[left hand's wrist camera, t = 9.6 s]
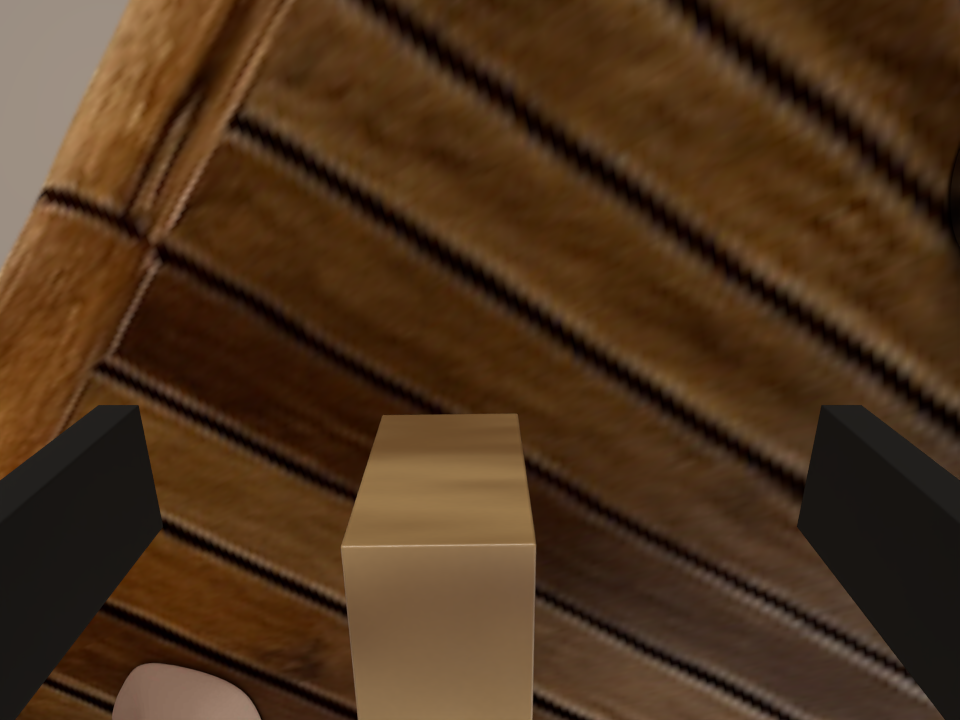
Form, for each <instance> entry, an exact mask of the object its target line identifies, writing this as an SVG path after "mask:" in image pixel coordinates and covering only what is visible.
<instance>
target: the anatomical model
mask: <svg viewBox="0 0 960 720" xmlns="http://www.w3.org/2000/svg"><path fill="white" fill-rule="evenodd" d="M112 720H261V718H260V716H259V714H258V712H257V710H256V708H255V706H254V704H253V703H252V701H251V700H250V699H249V697H248V696H247V695H246V694H245V693H244V692H243V691H242V690H240V689H239V688H237V687H236V686H235V685H233V684H231V683H229V682H227V681H225V680H223V679H220V678H218V677H216V676H213V675H210V674H207V673H204V672H200V671H196V670H193V669H189V668H184V667H180V666H175V665H168V664H161V663H148V664H143V665H140V666H138V667H137V668H135V669H134V670H133V671H132V672H131V673H130V675H129V676H128V677H127V679H126V681H125V682H124V684H123V686H122V688H121V690H120V692H119V694H118V696H117V698H116V702H115V705H114V710H113V715H112Z"/></svg>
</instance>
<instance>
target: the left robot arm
mask: <svg viewBox="0 0 960 720" xmlns="http://www.w3.org/2000/svg"><path fill="white" fill-rule="evenodd" d="M950 209H951V219H952V226H953V230H954V233H955V237H956V240H957V242H958V245H959V247H960V150H959V153H958V156H957V159H956V163H955V167H954V171H953V176H952V183H951V194H950ZM162 527H163V524H162V519H161V514H160V509H159V505H158V500H157V495H156V490H155V485H154V480H153V475H152V470H151V465H150V460H149V455H148V450H147V445H146V440H145V435H144V430H143V425H142V420H141V415H140V411H139V406H138V405H98V406H97V407H96V408H94V409H93V410H92V411H90V412H89V413H88V414H87V415H85V416H84V417H83V418H81V419H80V420H79V421H77V422H76V423H75V424H73V425H72V426H71V427H70V428H68V429H67V430H66V431H64V432H63V433H62V434H60V435H59V436H58V437H56V438H55V439H54V440H53V441H51V442H50V443H49V444H47V445H46V446H45V447H43V448H42V449H41V450H39V451H38V452H37V453H36V454H34V455H33V456H32V457H30V458H29V459H28V460H26V461H25V462H24V463H22V464H21V465H20V466H19V467H17V468H16V469H15V470H13V471H12V472H11V473H9V474H8V475H7V476H6V477H4V478H3V479H2V480H0V720H15V719H16V718H17V716H18V715H19V714H20V712H21V711H22V710H23V708H24V707H25V706H26V705H27V703H28V702H29V701H30V699H31V698H32V697H33V695H34V694H35V693H36V692H37V690H38V689H39V688H40V686H41V685H42V684H43V682H44V681H45V680H46V678H47V677H48V676H49V675H50V673H51V672H52V671H53V669H54V668H55V667H56V665H57V664H58V663H59V662H60V660H61V659H62V658H63V656H64V655H65V654H66V652H67V651H68V650H69V649H70V647H71V646H72V645H73V643H74V642H75V641H76V639H77V638H78V637H79V635H80V634H81V633H82V632H83V630H84V629H85V628H86V626H87V625H88V624H89V622H90V621H91V620H92V619H93V617H94V616H95V615H96V613H97V612H98V611H99V609H100V608H101V607H102V605H103V604H104V603H105V602H106V600H107V599H108V598H109V596H110V595H111V594H112V592H113V591H114V590H115V589H116V587H117V586H118V585H119V583H120V582H121V581H122V579H123V578H124V577H125V575H126V574H127V573H128V572H129V570H130V569H131V568H132V566H133V565H134V564H135V562H136V561H137V560H138V559H139V557H140V556H141V555H142V553H143V552H144V551H145V549H146V548H147V547H148V546H149V544H150V543H151V542H152V540H153V539H154V538H155V536H156V535H157V534H158V532H159V531H160V530H161V529H162ZM797 527H798V529H799V530H800V531H801V532H802V534H803V535H804V536H805V538H806V539H807V540H808V542H809V543H810V544H811V546H812V547H813V548H814V549H815V551H816V552H817V553H818V555H819V556H820V557H821V559H822V560H823V561H824V562H825V564H826V565H827V566H828V568H829V569H830V570H831V572H832V573H833V574H834V575H835V577H836V578H837V579H838V581H839V582H840V583H841V585H842V586H843V587H844V589H845V590H846V591H847V592H848V594H849V595H850V596H851V598H852V599H853V600H854V602H855V603H856V604H857V605H858V607H859V608H860V609H861V611H862V612H863V613H864V615H865V616H866V617H867V619H868V620H869V621H870V622H871V624H872V625H873V626H874V628H875V629H876V630H877V632H878V633H879V634H880V635H881V637H882V638H883V639H884V641H885V642H886V643H887V645H888V646H889V647H890V649H891V650H892V651H893V652H894V654H895V655H896V656H897V658H898V659H899V660H900V662H901V663H902V664H903V665H904V667H905V668H906V669H907V671H908V672H909V673H910V675H911V676H912V677H913V678H914V680H915V681H916V682H917V684H918V685H919V686H920V688H921V689H922V690H923V692H924V693H925V694H926V695H927V697H928V698H929V699H930V701H931V702H932V703H933V705H934V706H935V707H936V708H937V710H938V711H939V712H940V714H941V715H942V716H943V718H944V719H945V720H960V480H958V479H957V478H956V477H954V476H953V475H952V474H951V473H949V472H948V471H947V470H945V469H944V468H943V467H941V466H940V465H939V464H938V463H936V462H935V461H934V460H932V459H931V458H930V457H928V456H927V455H926V454H924V453H923V452H922V451H921V450H919V449H918V448H917V447H915V446H914V445H913V444H911V443H910V442H909V441H907V440H906V439H905V438H904V437H902V436H901V435H900V434H898V433H897V432H896V431H894V430H893V429H892V428H890V427H889V426H888V425H887V424H885V423H884V422H883V421H881V420H880V419H879V418H877V417H876V416H875V415H873V414H872V413H871V412H870V411H868V410H867V409H866V408H864V407H863V406H862V405H822V406H821V411H820V415H819V420H818V425H817V430H816V435H815V440H814V445H813V450H812V455H811V460H810V465H809V470H808V475H807V480H806V485H805V490H804V495H803V500H802V505H801V509H800V514H799V519H798V524H797Z"/></svg>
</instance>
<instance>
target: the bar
mask: <svg viewBox="0 0 960 720" xmlns="http://www.w3.org/2000/svg"><path fill="white" fill-rule="evenodd" d="M341 555H342V565H343V575H344V585H345V595H346V605H347V615H348V625H349V635H350V645H351V655H352V665H353V675H354V685H355V695H356V704H357V714H358V720H533V674H534V628H535V582H536V539H535V532H534V525H533V518H532V511H531V504H530V497H529V490H528V483H527V476H526V469H525V462H524V455H523V448H522V440H521V433H520V426H519V419H518V415H517V414H449V415H383V416H382V419H381V422H380V425H379V428H378V431H377V434H376V438H375V441H374V444H373V447H372V450H371V453H370V456H369V460H368V463H367V466H366V469H365V472H364V475H363V479H362V482H361V485H360V488H359V491H358V494H357V497H356V501H355V504H354V507H353V510H352V513H351V516H350V519H349V523H348V526H347V529H346V532H345V535H344V538H343V542H342V545H341Z"/></svg>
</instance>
